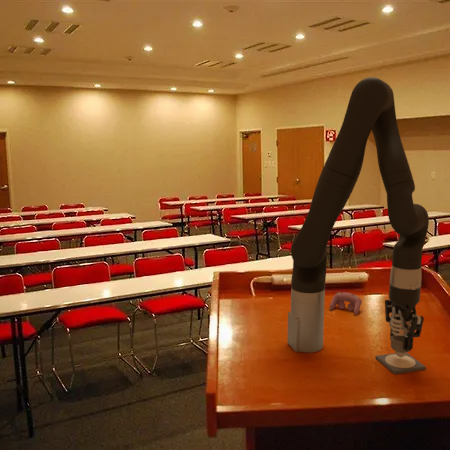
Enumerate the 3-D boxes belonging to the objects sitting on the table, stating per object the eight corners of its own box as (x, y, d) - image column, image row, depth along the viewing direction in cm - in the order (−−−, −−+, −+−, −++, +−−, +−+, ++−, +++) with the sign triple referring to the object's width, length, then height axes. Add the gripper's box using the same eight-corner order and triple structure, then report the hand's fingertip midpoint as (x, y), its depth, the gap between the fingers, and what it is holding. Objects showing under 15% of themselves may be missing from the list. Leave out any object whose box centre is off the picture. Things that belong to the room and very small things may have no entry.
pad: (394, 374, 135) (394, 371, 135) (375, 358, 143) (375, 355, 143) (425, 369, 137) (425, 366, 137) (405, 354, 146) (405, 351, 145)
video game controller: (360, 317, 176) (364, 296, 177) (356, 315, 172) (360, 293, 173) (331, 311, 181) (335, 291, 182) (327, 309, 177) (331, 288, 178)
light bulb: (415, 356, 140) (418, 313, 137) (405, 364, 136) (409, 319, 133) (395, 350, 144) (397, 308, 141) (385, 357, 140) (387, 314, 137)
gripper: (376, 275, 141) (373, 335, 145) (409, 293, 128) (404, 359, 131) (401, 273, 143) (397, 332, 147) (436, 290, 130) (430, 355, 133)
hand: (401, 344), depth 139 cm, fingers closed on light bulb, 5 cm apart
